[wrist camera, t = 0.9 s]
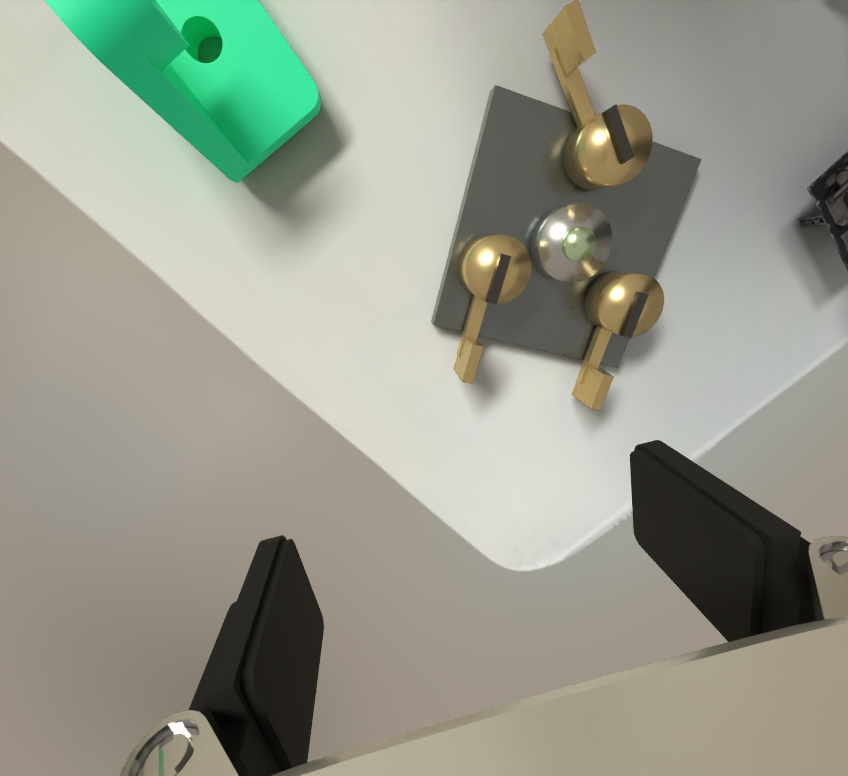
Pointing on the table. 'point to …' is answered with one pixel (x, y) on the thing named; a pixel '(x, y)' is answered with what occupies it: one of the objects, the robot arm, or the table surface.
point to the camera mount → (203, 71)
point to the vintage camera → (832, 204)
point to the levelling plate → (532, 191)
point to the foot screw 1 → (488, 289)
